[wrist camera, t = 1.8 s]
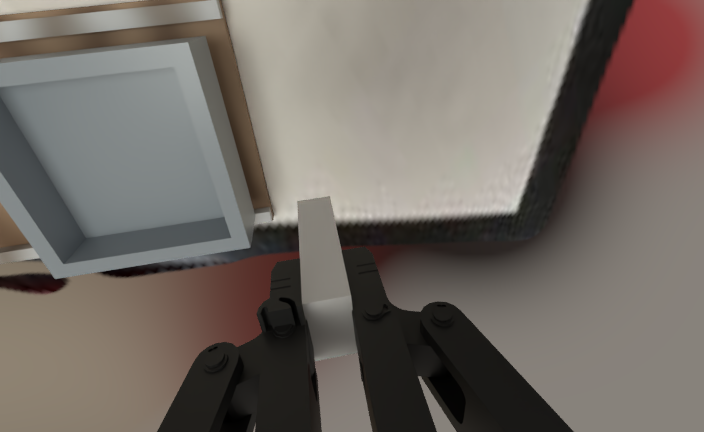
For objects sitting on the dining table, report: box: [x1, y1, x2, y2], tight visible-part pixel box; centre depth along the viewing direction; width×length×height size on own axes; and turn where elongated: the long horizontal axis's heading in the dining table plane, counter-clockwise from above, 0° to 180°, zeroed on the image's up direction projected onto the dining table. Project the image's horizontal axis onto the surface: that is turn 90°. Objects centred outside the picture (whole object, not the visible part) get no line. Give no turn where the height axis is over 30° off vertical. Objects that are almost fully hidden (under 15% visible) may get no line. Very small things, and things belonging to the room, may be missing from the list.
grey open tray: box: [0, 36, 255, 279], centre depth 27 cm, size 15×15×8 cm
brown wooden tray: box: [0, 0, 274, 264], centre depth 29 cm, size 34×20×4 cm, turn 96°
